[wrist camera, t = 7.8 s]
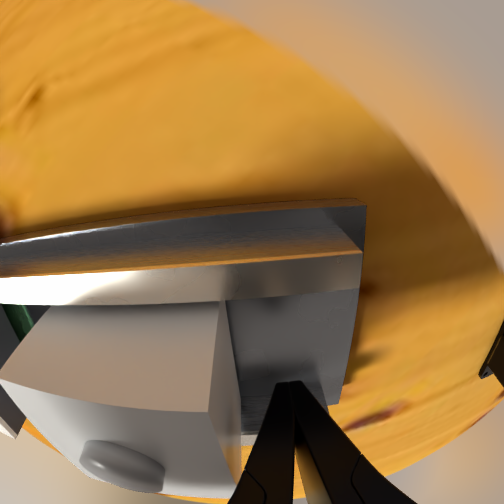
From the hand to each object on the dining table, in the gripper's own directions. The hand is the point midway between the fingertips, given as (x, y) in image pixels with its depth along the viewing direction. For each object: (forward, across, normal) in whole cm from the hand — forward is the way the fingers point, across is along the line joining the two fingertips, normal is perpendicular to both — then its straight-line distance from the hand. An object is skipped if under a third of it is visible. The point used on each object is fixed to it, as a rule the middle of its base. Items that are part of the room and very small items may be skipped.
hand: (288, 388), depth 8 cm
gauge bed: (+3, +9, 0) cm, 10 cm away
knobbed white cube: (+2, +5, 0) cm, 5 cm away
